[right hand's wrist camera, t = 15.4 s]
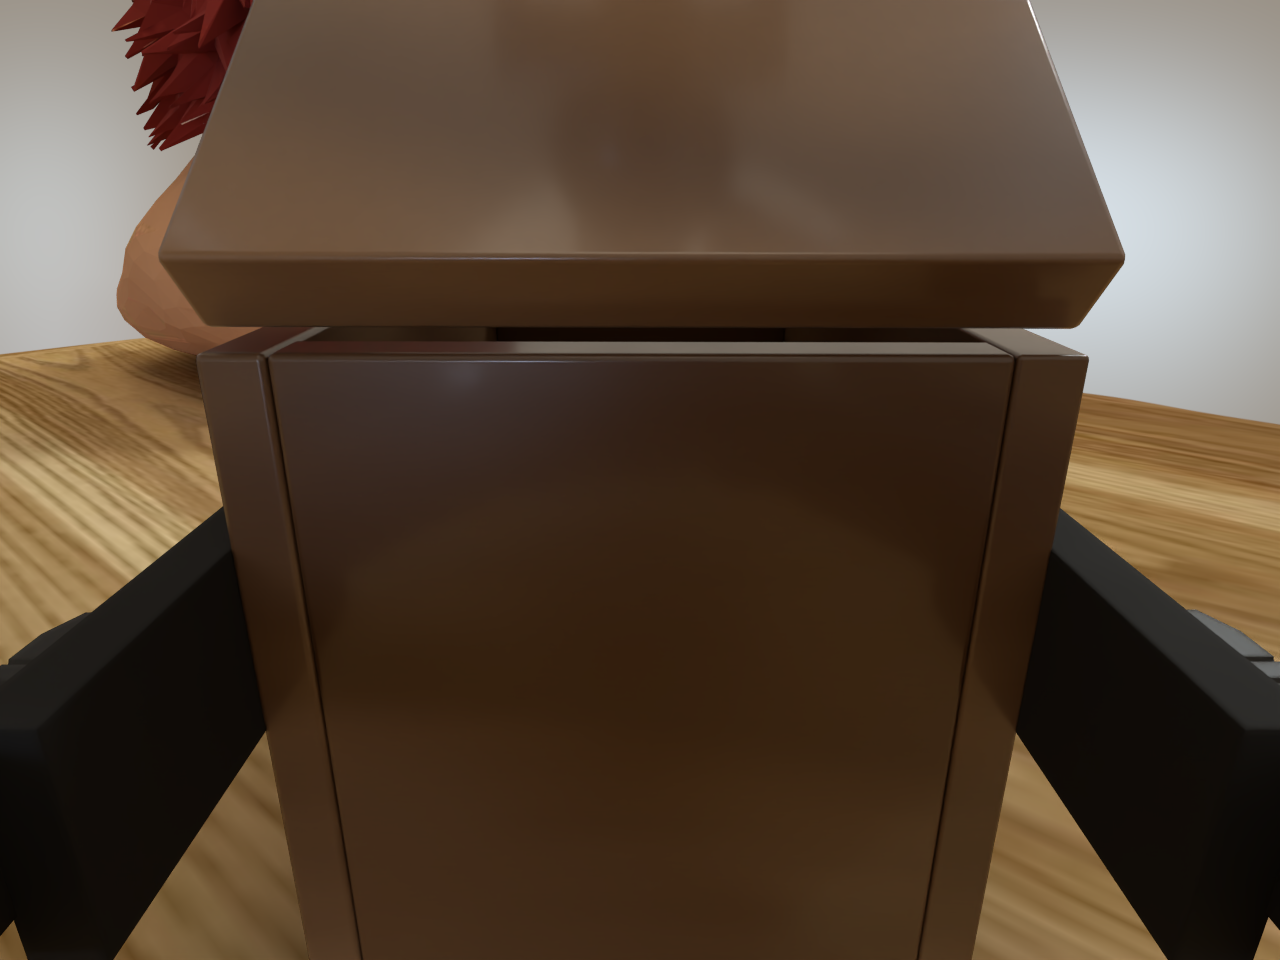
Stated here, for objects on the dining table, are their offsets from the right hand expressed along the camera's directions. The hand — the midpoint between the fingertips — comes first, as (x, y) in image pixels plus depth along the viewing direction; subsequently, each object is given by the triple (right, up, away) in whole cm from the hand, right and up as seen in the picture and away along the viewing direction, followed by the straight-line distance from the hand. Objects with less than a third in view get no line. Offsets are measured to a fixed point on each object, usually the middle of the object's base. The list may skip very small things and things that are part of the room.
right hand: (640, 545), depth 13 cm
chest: (0, -5, +7) cm, 9 cm away
